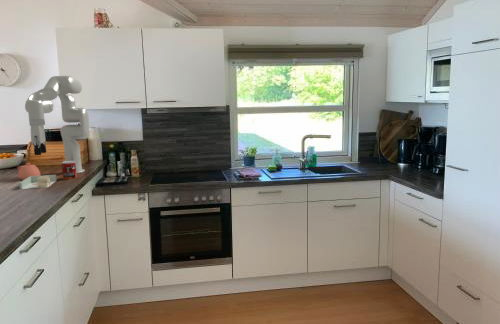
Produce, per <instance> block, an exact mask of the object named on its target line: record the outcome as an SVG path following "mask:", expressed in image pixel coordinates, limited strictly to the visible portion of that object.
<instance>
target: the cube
mask: <svg viewBox="0 0 500 324" xmlns="http://www.w3.org/2000/svg"><path fill="white" fill-rule="evenodd" d="M37 182H38V187H44V188H49V187H50V186H51V185H50V178H49V176H45V177H39V178H37ZM49 185H50V186H49ZM48 186H49V187H48Z"/></svg>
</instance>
